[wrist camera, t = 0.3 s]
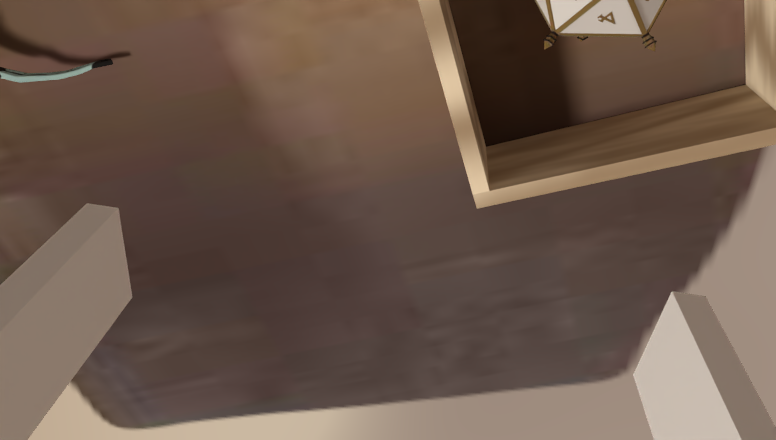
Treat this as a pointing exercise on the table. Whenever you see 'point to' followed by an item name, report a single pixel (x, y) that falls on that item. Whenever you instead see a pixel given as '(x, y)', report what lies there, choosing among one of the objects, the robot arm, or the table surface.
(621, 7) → the game die
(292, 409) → the table surface
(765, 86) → the birch crate
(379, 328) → the table surface
